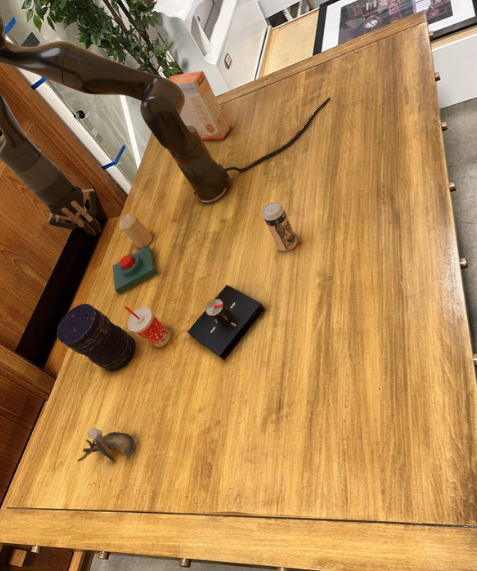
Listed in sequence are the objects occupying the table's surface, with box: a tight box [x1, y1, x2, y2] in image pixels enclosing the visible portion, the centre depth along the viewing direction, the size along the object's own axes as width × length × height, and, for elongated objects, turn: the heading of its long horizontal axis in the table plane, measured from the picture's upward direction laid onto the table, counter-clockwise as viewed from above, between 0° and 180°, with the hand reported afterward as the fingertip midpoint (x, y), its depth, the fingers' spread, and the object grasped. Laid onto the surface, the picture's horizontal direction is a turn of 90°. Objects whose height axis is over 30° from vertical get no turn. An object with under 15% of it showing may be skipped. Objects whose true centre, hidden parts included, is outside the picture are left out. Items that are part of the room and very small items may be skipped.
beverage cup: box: [124, 305, 171, 348], centre depth 86 cm, size 6×6×14 cm
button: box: [119, 254, 135, 269], centre depth 105 cm, size 4×4×2 cm
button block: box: [112, 245, 158, 295], centre depth 107 cm, size 12×10×4 cm
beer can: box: [262, 201, 298, 252], centre depth 88 cm, size 5×5×12 cm
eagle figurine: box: [76, 427, 136, 464], centre depth 77 cm, size 8×7×9 cm
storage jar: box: [56, 303, 137, 373], centre depth 88 cm, size 10×10×15 cm
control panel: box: [186, 284, 266, 362], centre depth 85 cm, size 14×11×3 cm
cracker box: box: [168, 70, 231, 141], centre depth 128 cm, size 14×6×21 cm, turn 58°
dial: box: [205, 298, 231, 326], centre depth 82 cm, size 4×4×5 cm
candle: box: [118, 213, 153, 249], centre depth 112 cm, size 6×6×10 cm
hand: (96, 231), depth 96 cm, fingers closed
